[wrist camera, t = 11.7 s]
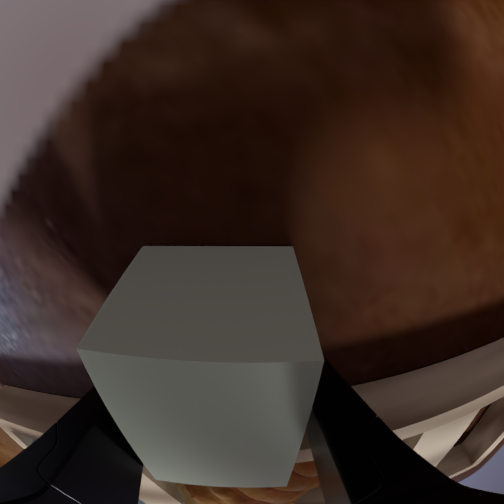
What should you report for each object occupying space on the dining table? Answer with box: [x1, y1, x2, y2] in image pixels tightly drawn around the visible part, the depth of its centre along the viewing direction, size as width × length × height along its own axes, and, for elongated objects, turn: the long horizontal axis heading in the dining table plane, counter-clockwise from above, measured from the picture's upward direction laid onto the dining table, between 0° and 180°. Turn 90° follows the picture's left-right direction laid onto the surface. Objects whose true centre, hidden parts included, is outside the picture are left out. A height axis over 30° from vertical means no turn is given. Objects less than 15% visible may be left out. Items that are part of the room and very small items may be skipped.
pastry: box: [176, 461, 320, 504], centre depth 12 cm, size 9×7×4 cm
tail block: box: [76, 246, 324, 488], centre depth 7 cm, size 6×4×4 cm, turn 0°
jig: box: [0, 338, 504, 504], centre depth 13 cm, size 14×31×2 cm, turn 99°
